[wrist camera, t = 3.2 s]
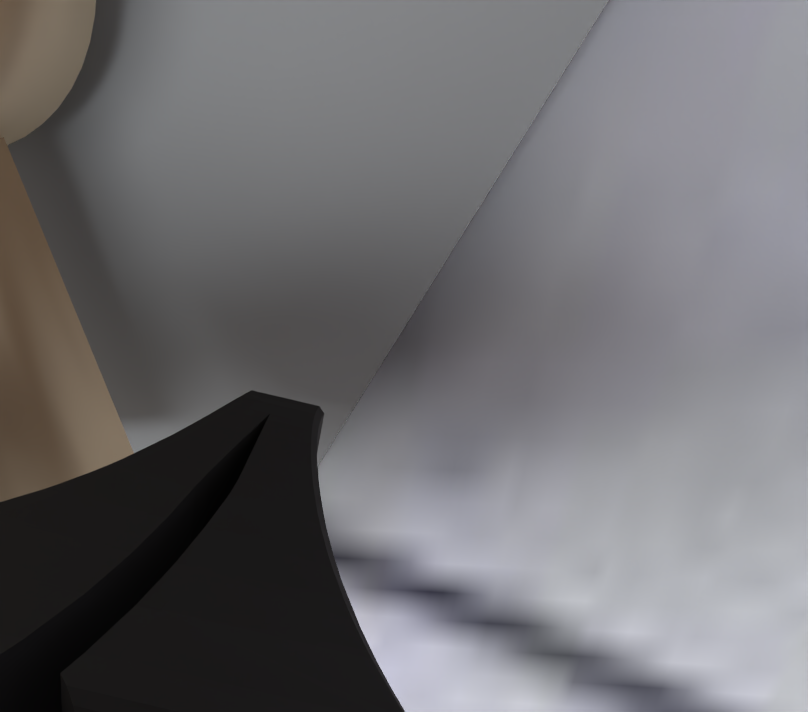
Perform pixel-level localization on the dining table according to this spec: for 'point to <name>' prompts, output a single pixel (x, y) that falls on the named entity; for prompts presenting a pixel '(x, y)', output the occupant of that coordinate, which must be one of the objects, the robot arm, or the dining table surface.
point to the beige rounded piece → (43, 274)
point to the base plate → (277, 185)
